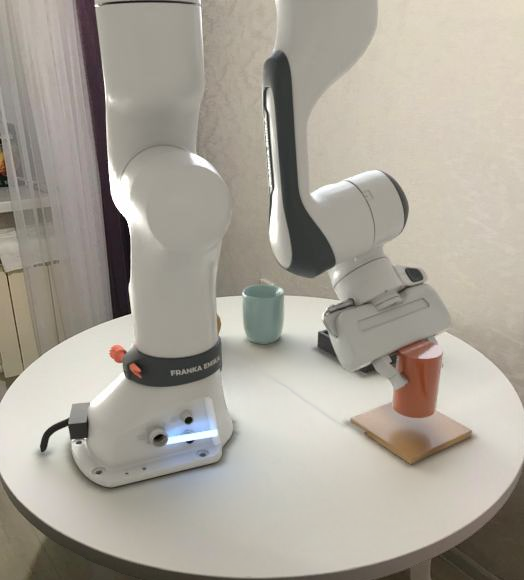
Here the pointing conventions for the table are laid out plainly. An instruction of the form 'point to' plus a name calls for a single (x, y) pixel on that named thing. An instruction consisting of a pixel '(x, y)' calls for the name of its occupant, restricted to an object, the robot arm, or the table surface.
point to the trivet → (411, 432)
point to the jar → (418, 379)
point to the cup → (263, 313)
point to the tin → (327, 346)
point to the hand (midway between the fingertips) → (420, 378)
